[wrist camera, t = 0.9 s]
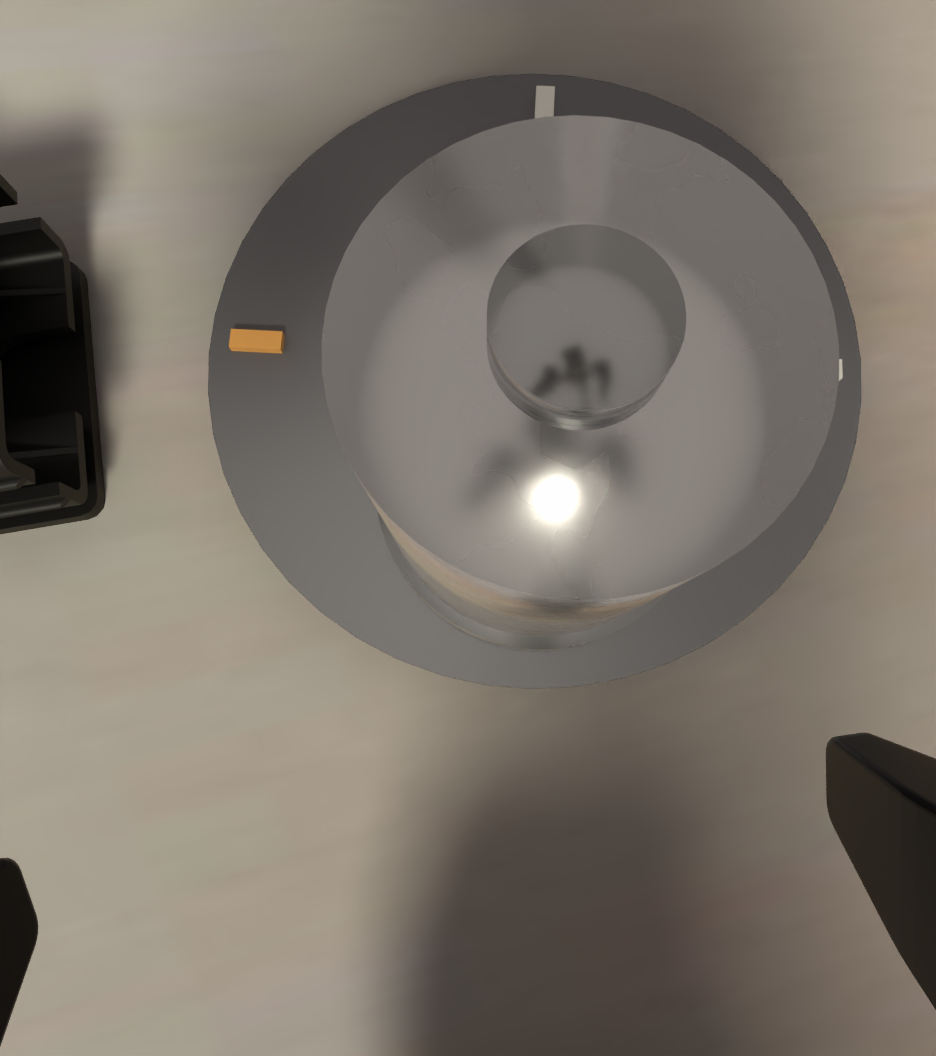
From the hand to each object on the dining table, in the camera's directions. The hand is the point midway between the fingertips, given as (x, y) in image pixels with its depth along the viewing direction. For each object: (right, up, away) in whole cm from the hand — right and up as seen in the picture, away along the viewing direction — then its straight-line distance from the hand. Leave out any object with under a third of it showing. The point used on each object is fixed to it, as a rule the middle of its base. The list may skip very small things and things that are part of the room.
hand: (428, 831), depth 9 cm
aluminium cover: (+2, +4, +15) cm, 16 cm away
